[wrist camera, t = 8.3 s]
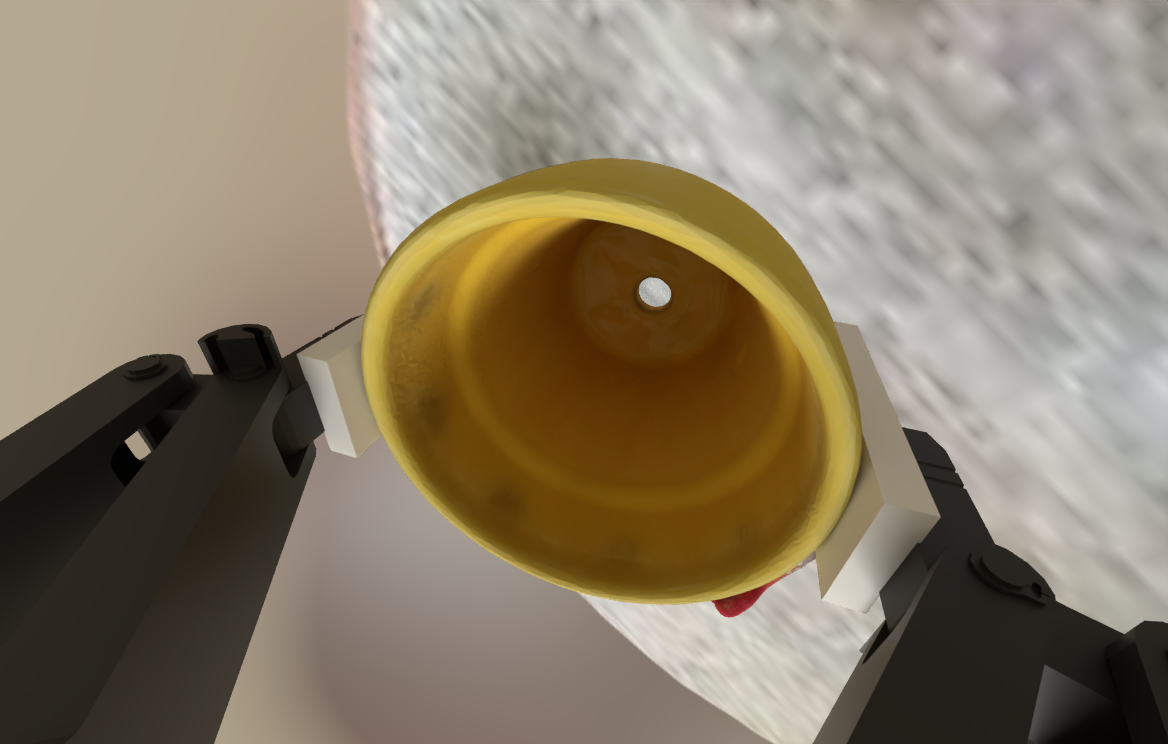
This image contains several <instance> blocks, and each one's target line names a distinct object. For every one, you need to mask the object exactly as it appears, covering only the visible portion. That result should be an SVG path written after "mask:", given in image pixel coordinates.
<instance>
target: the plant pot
mask: <svg viewBox="0 0 1168 744" xmlns="http://www.w3.org/2000/svg"><path fill="white" fill-rule="evenodd" d="M649 277H652V278H659V279H661V280H663V281H664V282H665V283H666V284H667V285H668V286H669V288H670V290H671V298H670V300H669V302H668V303H666V304H665V305H663V306H660V307H653V306H650V305H648V304H646V303H645V302H644V301H643V300H642V299H641V297H640V295H639V285H640V283H641V282H642V281H643V280H644V279H646V278H649ZM361 362H362V372H363V378H364V384H365V389H366V394H367V397H368V401H369V404H370V407H371V410H372V412H373V415H374V418H375V420H376V423H377V425H378V428H379V430H380V432H381V434H382V435H383V438H384V440H385V442H386V443H387V445H388V447H389V449H390V450H391V452H392V454H393V456H394V458H395V459H396V460H397V462H398V463H399V465H400V466H401V468H402V469H403V471H404V472H405V473H406V475H407V476H408V477H409V479H410V480H411V481H412V482H413V484H414V485H415V486H416V487H417V489H418V490H419V491H420V492H421V493H422V495H423V496H424V497H425V498H426V499H427V500H428V501H429V503H430V504H431V505H432V506H433V507H434V508H435V509H436V510H437V511H439V512H440V513H441V514H442V515H443V516H444V517H445V518H446V519H447V520H448V521H449V522H451V523H452V524H453V525H454V526H455V527H456V528H458V529H459V530H460V531H462V532H463V533H464V534H466V535H467V536H468V537H469V538H471V539H472V540H473V541H475V542H476V543H477V544H479V545H480V546H482V547H483V548H484V549H486V550H487V551H489V552H491V553H492V554H494V555H496V556H497V557H499V558H501V559H502V560H504V561H506V562H508V563H510V564H511V565H513V566H515V567H517V568H519V569H521V570H523V571H525V572H527V573H529V574H531V575H533V576H535V577H538V578H540V579H543V580H545V581H547V582H550V583H553V584H555V585H558V586H561V587H564V588H567V589H570V590H573V591H576V592H580V593H584V594H587V595H592V596H596V597H600V598H605V599H610V600H616V601H622V602H631V603H643V604H660V605H664V604H673V605H675V604H689V603H698V602H705V601H712V600H717V599H722V598H726V597H730V596H733V595H737V594H740V593H744V592H747V591H750V590H752V589H755V588H758V587H760V586H762V585H765V584H767V583H769V582H771V581H773V580H775V579H776V578H778V577H780V576H782V575H783V574H785V573H787V572H789V571H790V570H792V569H793V568H794V567H796V566H797V565H798V564H800V563H801V562H802V561H803V560H804V559H805V558H807V557H808V556H809V555H810V554H811V553H812V552H813V551H814V550H815V549H817V548H818V547H819V546H820V544H821V543H822V542H823V541H824V540H825V539H826V537H827V536H828V535H829V534H830V532H831V531H832V530H833V528H834V527H835V525H836V524H837V523H838V521H839V519H840V517H841V516H842V514H843V512H844V510H845V508H846V506H847V504H848V502H849V499H850V497H851V494H852V491H853V488H854V485H855V481H856V478H857V475H858V470H859V466H860V459H861V452H862V424H861V414H860V408H859V401H858V395H857V391H856V387H855V384H854V380H853V377H852V373H851V369H850V366H849V363H848V360H847V357H846V355H845V352H844V349H843V346H842V343H841V341H840V338H839V335H838V333H837V330H836V327H835V325H834V322H833V320H832V317H831V315H830V313H829V310H828V308H827V306H826V304H825V302H824V300H823V298H822V296H821V294H820V292H819V290H818V289H817V287H816V285H815V283H814V281H813V279H812V277H811V276H810V274H809V272H808V271H807V269H806V268H805V266H804V265H803V263H802V261H801V260H800V258H799V257H798V256H797V254H796V253H795V251H794V250H793V248H792V247H791V246H790V245H789V244H788V243H787V242H786V240H785V239H784V238H783V237H782V236H781V235H780V234H779V233H778V231H777V230H776V229H775V228H774V227H773V226H772V225H771V224H770V223H768V222H767V221H766V220H765V219H764V218H763V217H762V216H761V215H760V214H759V213H758V212H756V211H755V210H754V209H753V208H751V207H750V206H749V205H747V204H746V203H745V202H743V201H742V200H740V199H739V198H737V197H736V196H734V195H733V194H731V193H730V192H728V191H726V190H724V189H722V188H720V187H719V186H717V185H715V184H713V183H711V182H709V181H707V180H704V179H702V178H700V177H698V176H696V175H693V174H690V173H688V172H685V171H682V170H679V169H676V168H672V167H669V166H665V165H661V164H658V163H652V162H646V161H640V160H630V159H613V158H607V159H589V160H581V161H574V162H569V163H564V164H559V165H554V166H551V167H547V168H543V169H539V170H535V171H531V172H528V173H525V174H522V175H519V176H516V177H513V178H510V179H508V180H505V181H502V182H500V183H497V184H495V185H492V186H490V187H487V188H484V189H482V190H480V191H478V192H475V193H473V194H471V195H468V196H466V197H464V198H462V199H459V200H458V201H456V202H454V203H452V204H451V205H449V206H447V207H445V208H444V209H442V210H440V211H439V212H437V213H436V214H434V215H433V216H431V217H430V218H429V219H427V220H426V221H425V222H423V223H422V224H421V225H420V226H419V227H417V228H416V229H415V230H414V231H413V232H412V233H411V234H410V235H409V236H408V237H407V238H406V239H405V240H404V241H403V242H402V243H401V244H400V245H399V246H398V247H397V249H396V250H395V252H394V253H393V254H392V256H391V257H390V258H389V260H388V261H387V263H386V264H385V266H384V267H383V269H382V271H381V273H380V275H379V277H378V279H377V281H376V283H375V285H374V288H373V290H372V292H371V294H370V297H369V301H368V304H367V308H366V312H365V317H364V321H363V326H362V335H361Z"/></svg>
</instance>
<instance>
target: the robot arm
mask: <svg viewBox="0 0 1168 744" xmlns="http://www.w3.org/2000/svg"><path fill="white" fill-rule="evenodd" d="M364 317H365V314H363V315H360V316H357V317H354V318H351V319H349V320H347V321H345V322H344V323H342V324H340V325H339V326H337V327H335V329H334V330H330V331H328V332H326V333H325V334H323V335H322V337H318V338H316V339H315V340H313V341H311V342H309V343H308V344H306V345H304V346H303V347H301V348H299V349H297V350H296V351H294V352H292V353H291V354H289V355H287V356H286V357H284V358H281V355H280V353H279V350H278V347H277V345H276V342H275V339H274V337H273V334H272V332H271V330H270V329H269V328H268V327H266V326H262V325H259V324H242V325H234V326H230V327H226V328H222V329H218V330H216V331H213V332H211V333H209V334H206V335H205V336H203V337H202V338H201V339H199V340H198V344H199V345H200V348H201V350H202V352H203V354H204V356H205V358H206V360H207V362H208V364H209V366H210V368H211V370H212V372H213V374H214V375H201V374H192V372H191V370H190V368H189V366H188V364H187V363H186V361H185V359H184V358H182V357H181V356H178V355H173V354H163V355H162V354H161V355H159V354H155V355H149V356H143V357H139V358H137V359H136V360H133V361H130V362H127V363H125V364H123V365H121V366H119V367H117V368H116V369H114V370H112V371H110V372H109V373H107V374H106V375H104V376H102V377H101V378H99V379H98V380H96V381H95V382H93V383H92V384H90V385H88V386H87V387H85V388H83V389H82V390H81V391H79V392H77V393H75V394H74V395H72V396H71V397H69V398H68V399H66V400H64V401H63V402H61V403H59V404H58V405H56V406H55V407H53V408H52V409H50V410H49V411H47V412H45V413H44V414H42V415H40V416H39V417H37V418H36V419H34V420H32V421H31V422H29V423H28V424H26V425H24V426H23V427H21V428H20V429H18V430H16V431H15V432H14V433H12V434H10V435H9V436H7V437H5V438H4V439H2V440H1V441H0V744H214V742H215V739H216V736H217V734H218V731H219V728H220V725H221V722H222V719H223V717H224V714H225V711H226V708H227V705H228V702H229V699H230V697H231V694H232V691H233V688H234V685H235V683H236V680H237V677H238V674H239V671H240V669H241V665H242V663H243V660H244V657H245V654H246V652H247V649H248V646H249V643H250V640H251V637H252V635H253V632H254V629H255V626H256V623H257V620H258V618H259V615H260V612H261V609H262V606H263V604H264V601H265V598H266V595H267V592H268V589H269V587H270V584H271V581H272V578H273V575H274V573H275V570H276V566H277V564H278V561H279V558H280V555H281V553H282V550H283V547H284V544H285V541H286V539H287V536H288V533H289V530H290V527H291V524H292V522H293V518H294V516H295V513H296V510H297V507H298V505H299V502H300V499H301V496H302V493H303V491H304V488H305V485H306V482H307V479H308V476H309V474H310V470H311V468H312V465H313V462H314V459H315V457H316V448H315V445H314V442H313V440H315V439H316V438H317V437H318V436H319V435H320V434H322V433H323V432H324V433H325V435H326V438H327V441H328V444H329V447H330V450H331V451H335V452H338V453H341V454H344V455H348V456H351V457H355V458H358V457H359V456H360V455H361V454H362V453H363V452H364V451H365V450H366V449H367V448H368V447H370V446H371V445H372V444H373V443H374V442H375V441H376V440H377V439H378V438H379V437H380V436H381V435H382V434H381V432H380V430H379V428H378V425H377V423H376V420H375V418H374V415H373V412H372V410H371V407H370V404H369V401H368V397H367V394H366V389H365V384H364V378H363V372H362V362H361V335H362V326H363V321H364ZM834 325H835V327H836V330H837V333H838V335H839V338H840V341H841V343H842V346H843V349H844V352H845V355H846V357H847V360H848V363H849V366H850V369H851V373H852V377H853V380H854V384H855V387H856V391H857V395H858V401H859V408H860V414H861V424H862V452H861V459H860V466H859V470H858V475H857V478H856V481H855V485H854V488H853V491H852V494H851V497H850V499H849V502H848V504H847V506H846V508H845V510H844V512H843V514H842V516H841V517H840V519H839V521H838V523H837V524H836V525H835V527H834V528H833V530H832V531H831V532H830V534H829V535H828V536H827V537H826V539H825V540H824V541H823V542H822V543H821V544H820V546H819V547H818V548H817V549H815V554H816V562H817V569H818V576H819V584H820V591H821V599H822V600H823V601H826V602H830V603H833V604H836V605H839V606H843V607H846V608H849V609H853V610H856V611H859V612H862V613H867V612H868V610H869V609H870V608H871V606H872V605H873V604H874V603H875V601H876V600H877V599H878V597H879V596H880V598H881V602H882V606H883V610H884V614H885V618H886V619H885V620H884V622H883V623H882V624H881V625H880V626H879V628H878V629H877V630H876V631H875V632H874V634H873V635H872V636H871V637H870V638H869V640H868V641H867V642H866V643H865V644H864V646H863V647H862V648H861V649H860V650H859V651H860V652H861V653H863V655H862V657H861V659H860V660H859V662H858V664H857V666H856V667H855V669H854V671H853V673H852V675H851V676H850V678H849V680H848V682H847V683H846V685H845V687H844V689H843V691H842V692H841V694H840V696H839V698H838V700H837V701H836V703H835V705H834V707H833V708H832V710H831V712H830V714H829V716H828V717H827V719H826V721H825V723H824V724H823V726H822V728H821V730H820V732H819V733H818V735H817V737H816V739H815V740H814V742H813V744H1168V623H1165V622H1157V621H1143V622H1142V623H1140V624H1139V625H1137V626H1136V627H1134V628H1133V629H1132V630H1130V631H1129V632H1127V633H1126V634H1123V633H1121V632H1119V631H1116V630H1114V629H1112V628H1110V627H1108V626H1106V625H1104V624H1102V623H1100V622H1098V621H1096V620H1094V619H1091V618H1089V617H1087V616H1085V615H1083V614H1081V613H1079V612H1077V611H1075V610H1073V609H1071V608H1069V607H1067V606H1065V605H1063V604H1061V603H1059V602H1057V601H1056V599H1055V595H1054V593H1053V592H1052V590H1051V588H1050V587H1049V585H1048V584H1047V582H1046V581H1045V579H1044V578H1043V577H1042V576H1041V575H1040V574H1039V573H1038V572H1037V571H1036V570H1034V569H1033V568H1032V567H1031V566H1030V565H1029V564H1028V563H1027V562H1025V561H1024V560H1022V559H1021V558H1019V557H1018V556H1016V555H1015V554H1014V553H1012V552H1011V551H1009V550H1007V549H1005V548H1003V547H1001V546H998V545H996V544H995V543H994V541H993V539H992V537H991V536H990V534H989V532H988V530H987V528H986V526H985V524H984V522H983V520H982V518H981V517H980V515H979V513H978V511H977V509H976V507H975V505H974V503H973V501H972V500H971V498H970V496H969V494H968V492H967V490H966V489H963V486H964V484H963V482H962V481H961V479H960V477H959V475H958V473H955V470H956V469H955V467H954V465H953V463H952V462H951V460H950V458H949V456H948V454H947V452H946V451H945V450H944V449H943V448H942V447H941V446H940V445H939V444H938V443H937V442H936V441H935V440H934V439H933V438H932V437H931V436H930V435H929V434H928V433H927V432H922V431H917V430H913V429H908V428H904V427H901V425H900V422H899V420H898V418H897V415H896V413H895V411H894V409H893V406H892V404H891V402H890V399H889V397H888V395H887V392H886V390H885V388H884V386H883V383H882V381H881V379H880V376H879V374H878V372H877V370H876V367H875V365H874V363H873V360H872V358H871V356H870V353H869V351H868V349H867V347H866V344H865V342H864V340H863V337H862V335H861V333H860V330H859V328H858V326H856V325H850V324H845V323H839V322H834ZM136 431H138V432H139V434H140V435H141V437H142V438H143V439H144V441H145V443H146V444H147V446H148V447H149V449H150V450H151V453H150V454H148V455H147V456H146V457H145V458H143V459H141V460H139V459H137V458H136V457H135V456H134V454H133V453H132V451H131V450H130V449H129V447H128V446H127V444H126V443H125V440H126V439H127V438H129V437H130V436H131V435H132V434H134V433H135V432H136Z"/></svg>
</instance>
